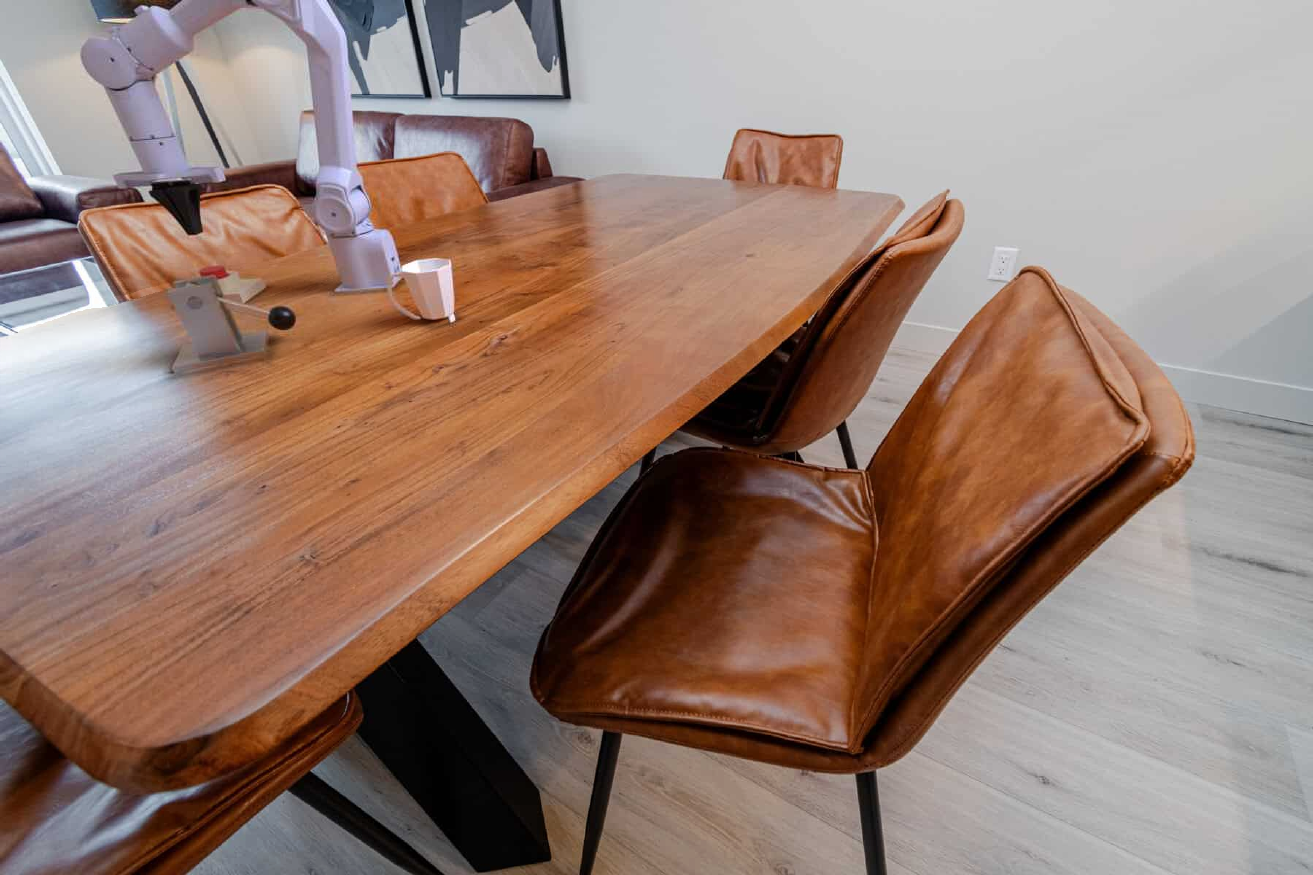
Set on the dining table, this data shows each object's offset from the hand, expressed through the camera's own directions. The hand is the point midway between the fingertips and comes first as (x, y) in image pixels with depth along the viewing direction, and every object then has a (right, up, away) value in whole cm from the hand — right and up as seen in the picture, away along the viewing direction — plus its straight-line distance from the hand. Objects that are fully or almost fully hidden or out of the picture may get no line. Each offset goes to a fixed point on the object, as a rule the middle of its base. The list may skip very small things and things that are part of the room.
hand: (195, 233), depth 94 cm
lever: (+19, -17, -17) cm, 30 cm away
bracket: (+16, -21, -16) cm, 31 cm away
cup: (+40, -16, -8) cm, 44 cm away
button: (0, -6, +4) cm, 7 cm away
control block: (+1, -9, +6) cm, 10 cm away
